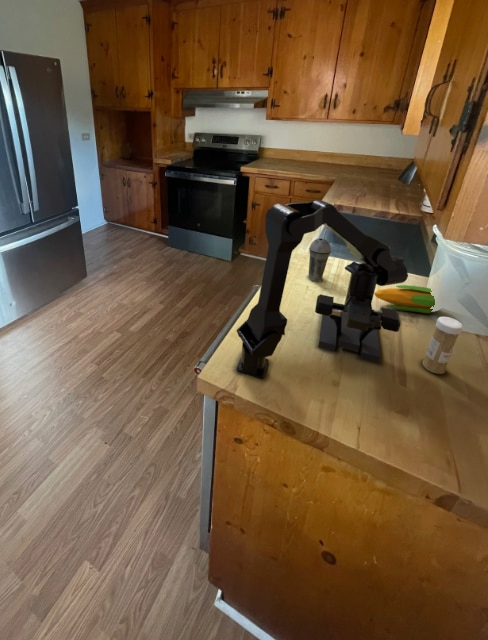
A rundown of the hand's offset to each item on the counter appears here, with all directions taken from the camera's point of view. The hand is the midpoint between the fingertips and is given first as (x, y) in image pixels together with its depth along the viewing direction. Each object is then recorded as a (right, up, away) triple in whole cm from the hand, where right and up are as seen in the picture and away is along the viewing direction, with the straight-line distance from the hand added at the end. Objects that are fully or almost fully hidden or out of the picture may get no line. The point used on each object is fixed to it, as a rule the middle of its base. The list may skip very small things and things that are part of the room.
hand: (349, 339), depth 86 cm
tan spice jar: (+17, -5, -6) cm, 19 cm away
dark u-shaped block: (+2, 0, +5) cm, 6 cm away
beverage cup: (+5, +12, +35) cm, 37 cm away
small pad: (0, -1, 0) cm, 1 cm away
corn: (+27, +4, +17) cm, 32 cm away
